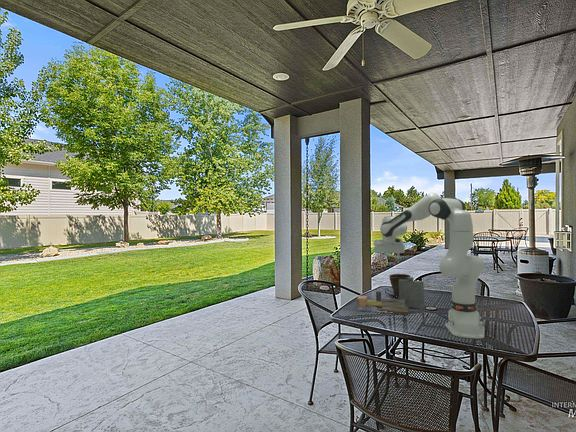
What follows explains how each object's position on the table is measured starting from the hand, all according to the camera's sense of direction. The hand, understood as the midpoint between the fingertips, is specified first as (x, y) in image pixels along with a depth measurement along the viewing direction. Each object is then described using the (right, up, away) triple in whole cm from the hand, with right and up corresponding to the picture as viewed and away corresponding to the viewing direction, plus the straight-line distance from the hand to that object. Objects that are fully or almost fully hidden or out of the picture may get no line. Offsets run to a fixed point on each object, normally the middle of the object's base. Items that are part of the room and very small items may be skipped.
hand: (389, 259), depth 217 cm
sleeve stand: (-9, -32, -12) cm, 35 cm away
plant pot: (+13, -31, +16) cm, 37 cm away
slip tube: (-13, -29, -10) cm, 34 cm away
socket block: (-21, -31, -7) cm, 38 cm away
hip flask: (+12, -31, -8) cm, 34 cm away
